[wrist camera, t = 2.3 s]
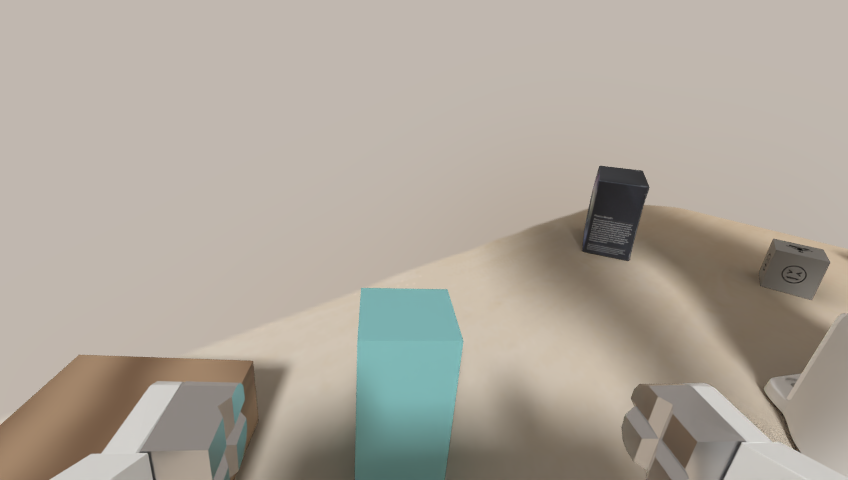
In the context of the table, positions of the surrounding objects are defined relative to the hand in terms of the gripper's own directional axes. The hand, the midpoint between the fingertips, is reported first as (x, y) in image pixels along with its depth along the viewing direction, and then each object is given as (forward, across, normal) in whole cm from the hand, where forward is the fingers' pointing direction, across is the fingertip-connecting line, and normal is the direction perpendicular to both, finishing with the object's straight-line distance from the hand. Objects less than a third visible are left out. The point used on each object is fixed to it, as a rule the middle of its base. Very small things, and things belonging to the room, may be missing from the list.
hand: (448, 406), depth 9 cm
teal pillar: (+12, -1, +15) cm, 20 cm away
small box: (+48, -33, +15) cm, 59 cm away
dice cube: (+36, -50, +14) cm, 63 cm away
